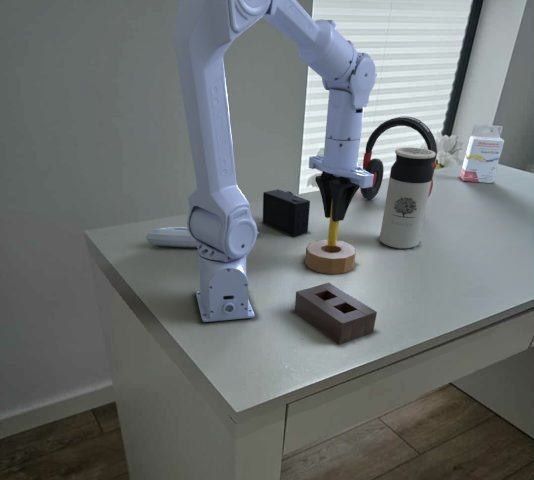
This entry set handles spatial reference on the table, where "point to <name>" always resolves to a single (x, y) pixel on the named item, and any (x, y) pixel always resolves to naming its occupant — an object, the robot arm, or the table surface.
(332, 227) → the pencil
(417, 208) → the travel mug
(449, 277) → the table surface
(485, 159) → the ink cartridge box
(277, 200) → the digital camera
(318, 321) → the pencil stand
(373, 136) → the headphones
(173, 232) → the spaceship
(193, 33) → the robot arm
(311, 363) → the table surface
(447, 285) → the table surface
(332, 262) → the tape roll
